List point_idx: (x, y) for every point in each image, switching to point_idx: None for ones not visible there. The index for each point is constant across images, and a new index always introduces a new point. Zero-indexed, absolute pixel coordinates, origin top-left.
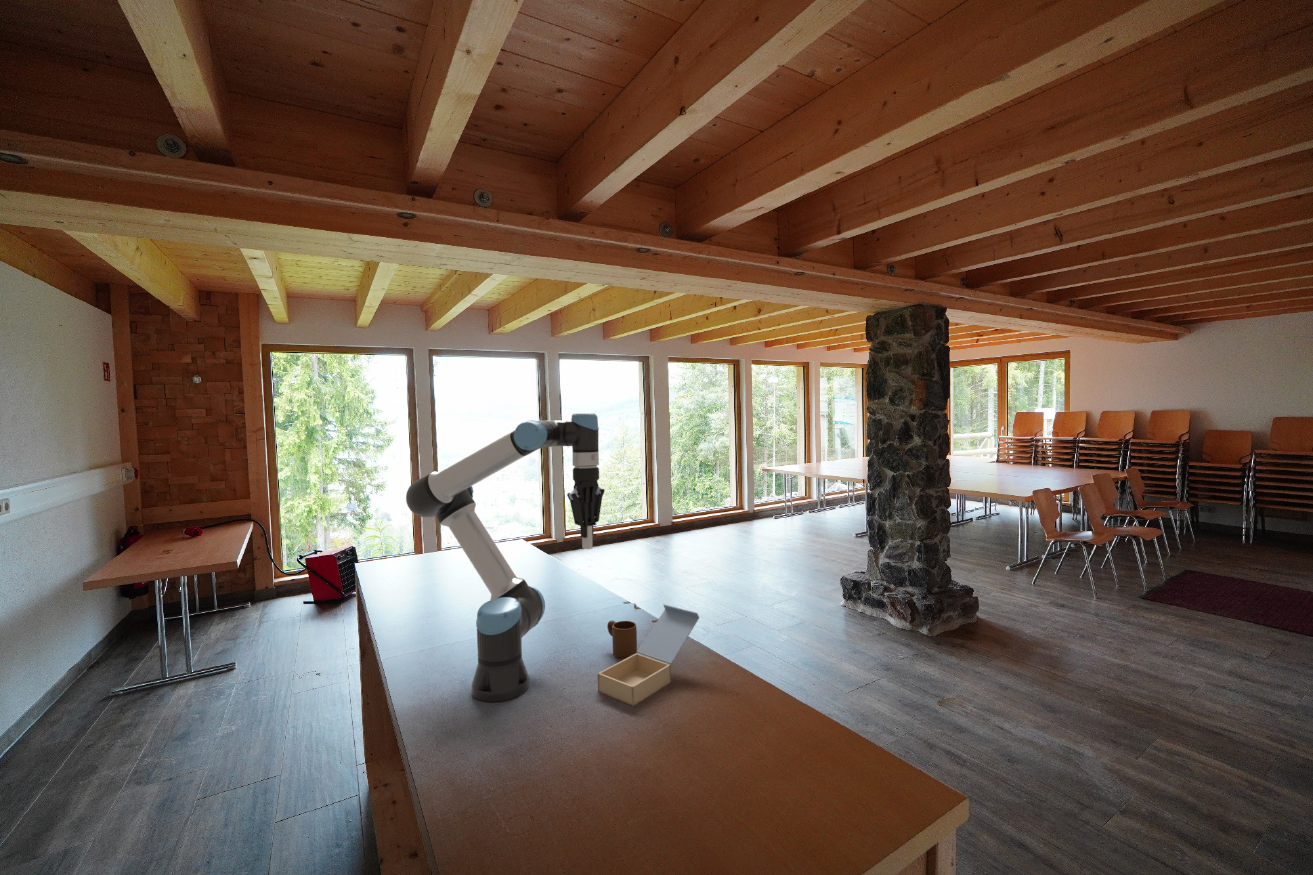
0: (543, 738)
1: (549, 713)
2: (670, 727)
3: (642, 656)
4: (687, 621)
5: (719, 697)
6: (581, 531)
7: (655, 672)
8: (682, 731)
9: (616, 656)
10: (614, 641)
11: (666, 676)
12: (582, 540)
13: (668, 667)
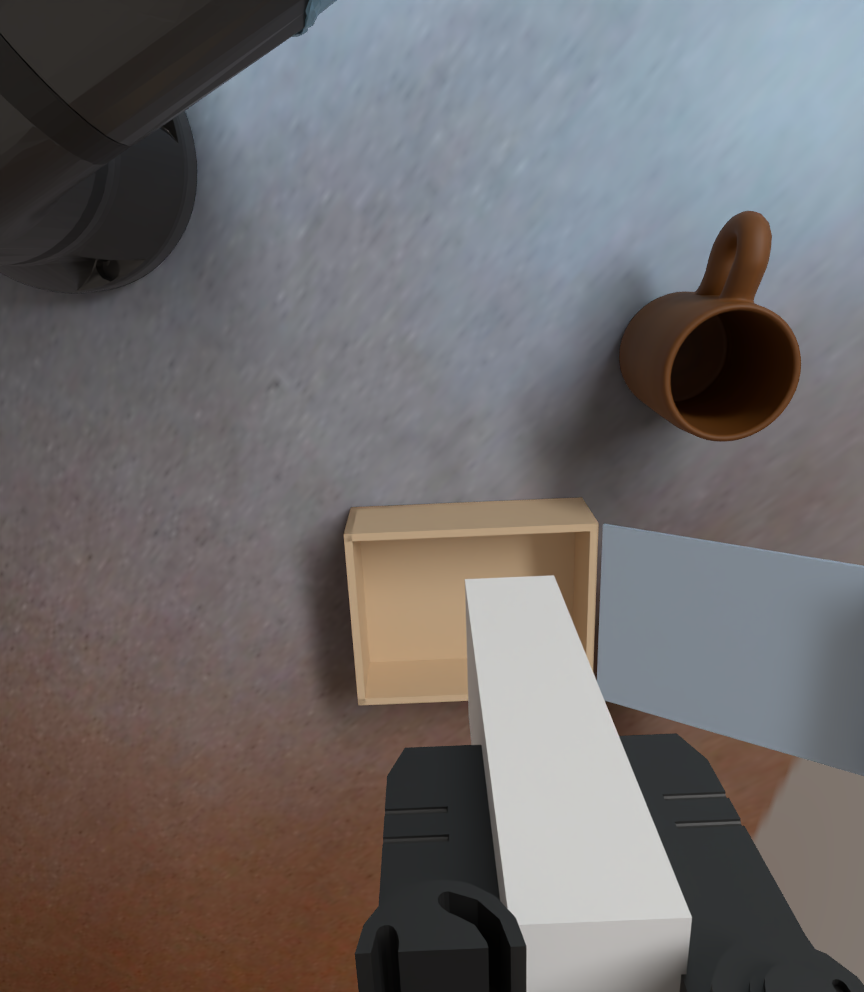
0: (33, 591)
1: (126, 490)
2: (354, 810)
3: (589, 562)
4: (837, 726)
5: None
6: (383, 886)
7: None
8: (361, 841)
9: (619, 352)
10: (641, 349)
11: None
12: (475, 654)
13: None
